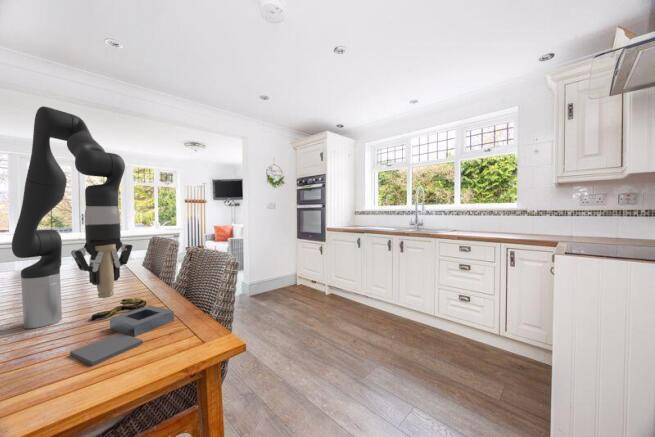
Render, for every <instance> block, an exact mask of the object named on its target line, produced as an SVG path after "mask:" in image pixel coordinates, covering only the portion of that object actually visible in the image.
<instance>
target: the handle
mask: <svg viewBox="0 0 655 437" xmlns="http://www.w3.org/2000/svg"><path fill="white" fill-rule="evenodd" d="M115 247H116V245H115V244H111V245H101V246H95V250H96V251H97V252H98V251H100V252H104V253H103V256H102V260H101V263H100V264H99V267H98V270H97V271H98V272H99V285H96V289H97V296H98V298H99V299H106V298H111V297H112V296H114V288H115V281H114V269H113V260H112V254H111V251H112V250H114V249H115Z"/></svg>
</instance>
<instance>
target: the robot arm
mask: <svg viewBox="0 0 655 437" xmlns="http://www.w3.org/2000/svg"><path fill="white" fill-rule="evenodd" d="M33 122H34V124H33V134H32V144H31V146H32V147H31V154H30V160H29V164H28V169H27V173H26V177H25V183H24V184H25V185H24V190H23V197H22V203H21V208H20V214H19V217H18V219H17V220H18V221H17V223H16V226H15V228H14V232H13V236H12V241H11V251H12V253H13V255H14V256H15V257H17V258H18V259H19V258H20V259H29V258H37V257H40V258H39V260H38V261H37V262H35V263H33V264H31V265H29V266H27V267H24V268H23V269H21V271H20V277H21V278H20V281H21V299H22V302H21V303H22V323H23V328H24V329H37V328H42V327H47V326H50V325H53V324H57V323H58V322H60V321H62V320H63V313H62V310H63V309H62V288H61V266H62V250H63V248H62V247H63V246H62V245H63V243H62V242H63V241H62V236H61V235H60V233H59V232H58V231H57V230H56V229H38V227H39V225H40V223H41V221H42V220H43V218H45V216H46V215H47V214H49V213H50V212H51V211H52V210H53V209H54V208H56V206H58V205H59V204H60V203H61V201H63V199H64V196H65V193H66V188H67V182H68V181H67V176H66V174H65V172H64V171H63V169H62V167H61V165H59V163H58V161H57V160H56V158H55V156H54V155H53V152H52V149H51V144H50V143H51V138H52V139H56V140H60V141H64V142H66V147H67V149H68V151H69V152H70V153H71V155H73V157H74V165H75V169H76V171H78V173H80V174H82V175H85V176H89V177H100V178H106V180H105V181H104V182H103V183H102V184H93V185H88V186H86V187H85V191H84V198H85V199H84V201H85V210H84V229H85V230H84V235H85V245H84V246H83V247H81V248H79V249H73V250H72V251H71V256H72V258H73V259H74V262H75V263H76V265H77V267H78V268H79V270H80V271H83V272H88V273H89V274H88V276H89V277H88V279H89V283H90V284H92V285H93V286H97V285H99V272H98V271H97V270H98V267H99V264H100V263H101V260H102V256H103V253H104V252H100V251H98V252H97V251H96V250H95V246H101V245H111V244H115V245H116V247H115V249H114V250H112V251H111V254H112V260H113V269H114V282H117V281H119V278H120V277H121V269H120V268H121V267H122V266H124V265H127V264H128V261H129V258H130V255H131V252H132V249H133V245H132V244H126V243H123V242H122V240H121V236H122V235H121V214H120V208H119V192H120V191H119V189H120V186H121V181H122V178H123V176H124V173H125V170H126V164H125V161H124V159H123V158H122V156H120V154H117V153H113V152H106V151H105V149H104V148H103V146H102V145H100V144H99V142H97V141H96V140H95V139H94V138H93V136H92V134H91V132H90V129H88V126H87V124H86V122H85V121H84V120H83V119H82V118H81V117H80V116H78V115H76V114H73V113H68V112H65V111H62V110H59V109H55V108H52V107H48V106H43V105H42V106H40V107H39V108H38V109H37V110H36V112H35V116H34V121H33ZM37 229H38V230H37ZM119 251H121V253H120V256H119V254H118V252H119ZM86 252H87V253H88V254H89V255H90V256H89V261H88V262H89V263H88V262H87V260H86V257H85V256H86Z"/></svg>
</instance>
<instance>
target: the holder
mask: <svg viewBox="0 0 655 437" xmlns="http://www.w3.org/2000/svg"><path fill="white" fill-rule="evenodd" d="M174 321H175V311H174V310H171V309H167V308H162V307H158V306H154V305H151V304H149V305H145V307H143V308H140V309H137V310H130V311H128V312H124V313H122V314H119V315H116V316H113V317H110V318H109V329H110V330H114V331H117V332H118V333H123V334H126V335H129V336H132V337H134V338H136V337H137V336H140V335H142V334H144V333H147V332H149V331H151V330H154V329H157V328H160V327H162V326H164V325H167V324H169V323H171V322H174Z"/></svg>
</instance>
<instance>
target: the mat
mask: <svg viewBox="0 0 655 437" xmlns="http://www.w3.org/2000/svg"><path fill="white" fill-rule="evenodd" d="M143 343H144V340H143V339H140V338H137V337H134V336H131V335H128V334H125V333H122V332H118V333H115V334H113V335H110V336H108V337H105V338H101V339H100V340H97V341H95V342H92V343H88V344H86V345H83V346H81V347H78V348H75V349H73V350H70V351H69V355H70V356H71V357H73V358H76V359H78V360H80V361H81V362H84V363H86V364H89V365H90V366H96V365H98V364H100V363H102V362H105V361H107V360H109V359H111V358H113V357H115V356H116V357H117V356H118V355H120V354H122V353H125V352H127V351H129V350H131V349H134V348H136V347H138V346H141V345H143Z"/></svg>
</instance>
